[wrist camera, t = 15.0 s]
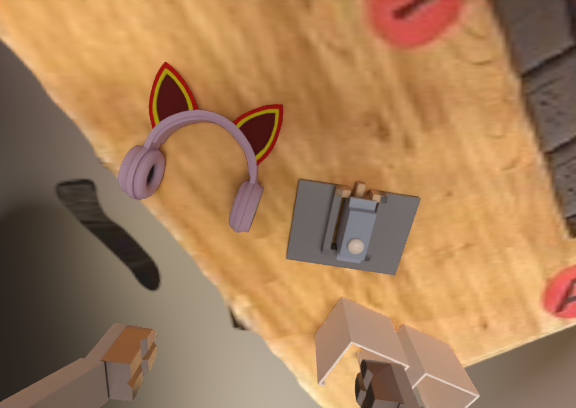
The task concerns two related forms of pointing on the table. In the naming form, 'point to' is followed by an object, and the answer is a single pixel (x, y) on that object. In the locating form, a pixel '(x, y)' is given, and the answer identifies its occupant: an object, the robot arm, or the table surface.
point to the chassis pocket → (322, 219)
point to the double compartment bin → (394, 353)
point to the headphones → (183, 111)
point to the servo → (355, 226)
